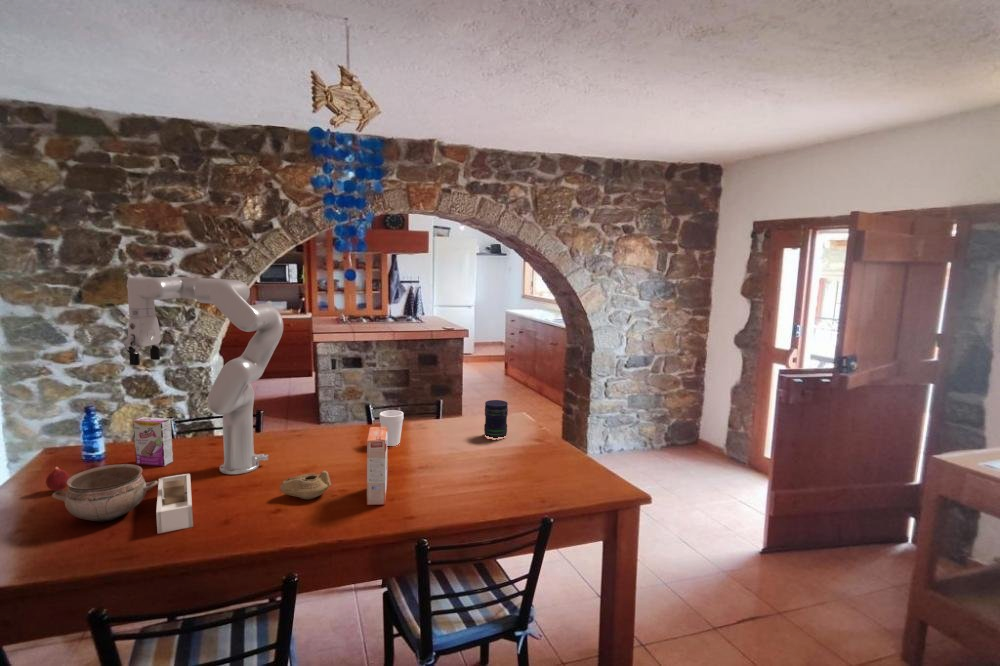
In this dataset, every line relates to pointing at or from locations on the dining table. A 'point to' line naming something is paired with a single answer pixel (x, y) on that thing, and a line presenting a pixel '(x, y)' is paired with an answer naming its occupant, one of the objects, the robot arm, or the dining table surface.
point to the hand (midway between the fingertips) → (145, 362)
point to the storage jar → (496, 418)
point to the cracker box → (377, 465)
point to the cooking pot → (105, 492)
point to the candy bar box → (153, 441)
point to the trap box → (174, 507)
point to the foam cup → (392, 425)
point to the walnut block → (174, 491)
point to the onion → (57, 479)
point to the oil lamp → (306, 485)
